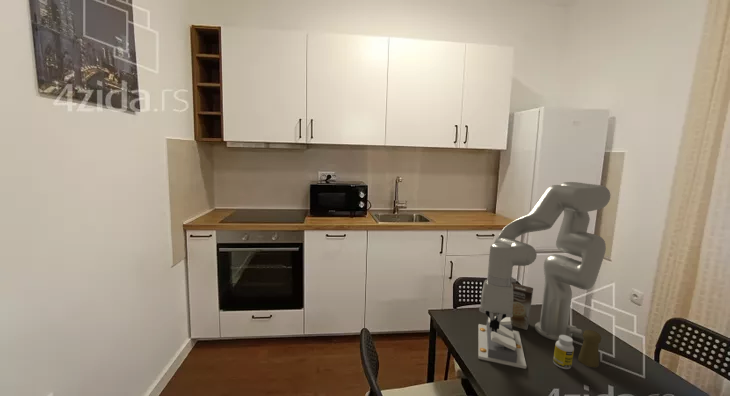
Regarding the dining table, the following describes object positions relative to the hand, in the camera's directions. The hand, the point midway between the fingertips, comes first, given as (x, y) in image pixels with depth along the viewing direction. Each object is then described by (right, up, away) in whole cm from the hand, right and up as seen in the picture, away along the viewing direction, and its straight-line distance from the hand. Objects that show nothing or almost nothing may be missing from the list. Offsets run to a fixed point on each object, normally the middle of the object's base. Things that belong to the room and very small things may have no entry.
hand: (494, 329), depth 115 cm
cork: (+32, -11, -1) cm, 34 cm away
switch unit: (+5, -9, +7) cm, 12 cm away
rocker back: (+7, -2, +13) cm, 15 cm away
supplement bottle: (+22, -11, -3) cm, 25 cm away
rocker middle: (+5, -3, +6) cm, 9 cm away
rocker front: (+3, -4, 0) cm, 5 cm away
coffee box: (+18, -7, +23) cm, 30 cm away
